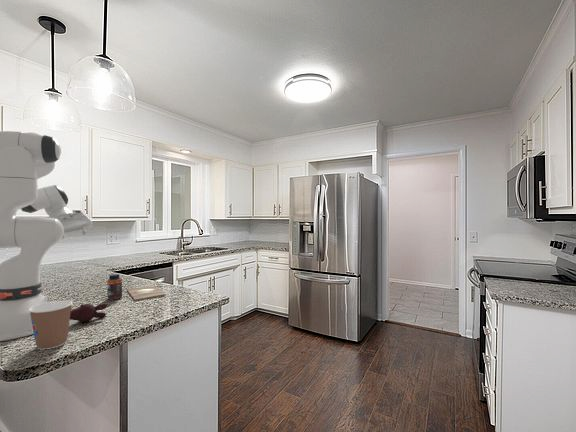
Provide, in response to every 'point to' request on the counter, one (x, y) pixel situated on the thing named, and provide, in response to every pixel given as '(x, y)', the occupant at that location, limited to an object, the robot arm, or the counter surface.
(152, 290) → the board
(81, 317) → the dark red toy figure
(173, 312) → the counter surface
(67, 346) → the counter surface
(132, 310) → the counter surface
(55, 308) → the coffee cup
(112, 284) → the supplement bottle
